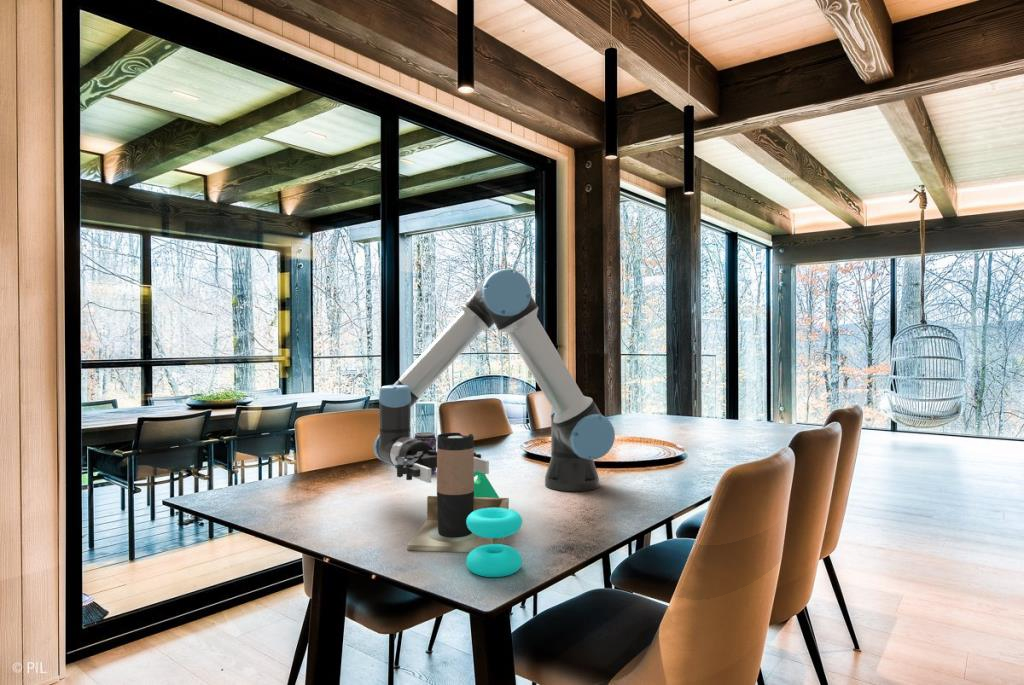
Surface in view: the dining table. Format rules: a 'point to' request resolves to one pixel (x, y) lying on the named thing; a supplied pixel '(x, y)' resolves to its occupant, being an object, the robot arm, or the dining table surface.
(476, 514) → the donuts
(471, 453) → the travel mug
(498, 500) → the corner tray
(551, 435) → the robot arm
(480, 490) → the camera mount
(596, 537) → the dining table surface
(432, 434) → the beverage can
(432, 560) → the dining table surface
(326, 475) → the dining table surface
